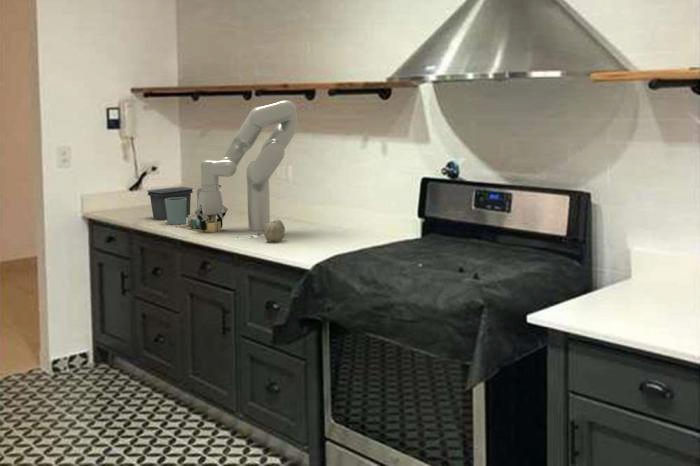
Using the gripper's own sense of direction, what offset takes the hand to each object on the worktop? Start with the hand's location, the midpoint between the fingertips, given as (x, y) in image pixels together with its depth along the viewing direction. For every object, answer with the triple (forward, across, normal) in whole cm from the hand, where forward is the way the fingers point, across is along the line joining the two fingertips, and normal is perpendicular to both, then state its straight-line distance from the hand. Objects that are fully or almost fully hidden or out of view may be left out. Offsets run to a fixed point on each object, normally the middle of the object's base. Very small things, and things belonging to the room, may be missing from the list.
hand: (211, 228), depth 355 cm
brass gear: (+1, 0, 0) cm, 1 cm away
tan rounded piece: (+3, -9, +34) cm, 35 cm away
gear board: (+3, 0, -9) cm, 10 cm away
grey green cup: (+3, -4, -38) cm, 39 cm away
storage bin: (+3, -12, -59) cm, 60 cm away
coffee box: (+3, -18, -34) cm, 39 cm away
